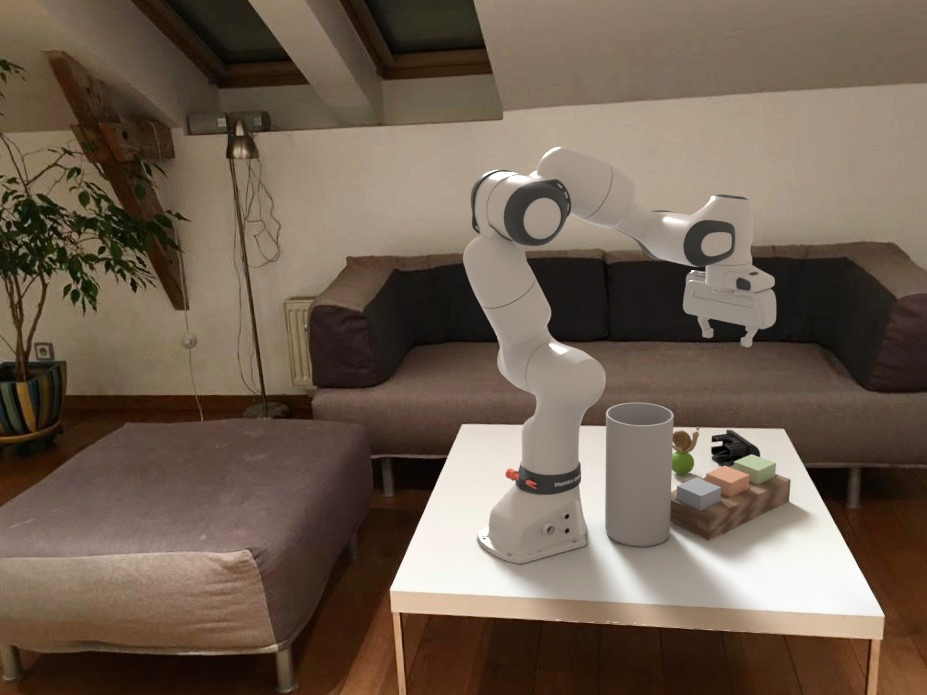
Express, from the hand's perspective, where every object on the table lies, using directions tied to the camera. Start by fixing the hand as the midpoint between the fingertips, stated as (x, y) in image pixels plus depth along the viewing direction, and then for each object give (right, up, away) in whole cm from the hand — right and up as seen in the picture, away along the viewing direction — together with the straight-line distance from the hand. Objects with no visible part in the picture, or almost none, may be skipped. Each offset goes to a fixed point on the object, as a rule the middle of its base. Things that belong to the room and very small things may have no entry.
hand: (726, 341), depth 170 cm
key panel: (0, -35, +2) cm, 35 cm away
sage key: (+8, -29, +6) cm, 31 cm away
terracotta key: (0, -31, +1) cm, 31 cm away
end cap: (+9, -29, +23) cm, 38 cm away
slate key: (-7, -33, -4) cm, 34 cm away
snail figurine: (-4, -30, +19) cm, 36 cm away
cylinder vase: (-20, -38, -6) cm, 43 cm away
